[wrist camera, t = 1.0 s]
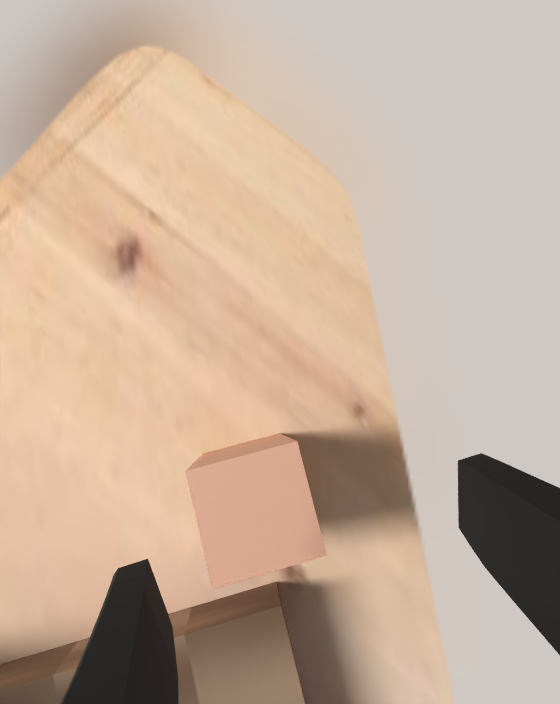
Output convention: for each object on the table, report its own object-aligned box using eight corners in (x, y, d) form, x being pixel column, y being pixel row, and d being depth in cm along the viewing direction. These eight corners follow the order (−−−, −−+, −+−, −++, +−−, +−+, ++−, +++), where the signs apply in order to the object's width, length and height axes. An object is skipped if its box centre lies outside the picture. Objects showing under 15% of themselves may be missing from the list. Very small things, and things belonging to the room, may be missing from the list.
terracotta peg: (299, 510, 24) (326, 555, 16) (222, 532, 24) (212, 589, 16) (279, 433, 25) (296, 440, 17) (204, 453, 24) (185, 471, 16)
